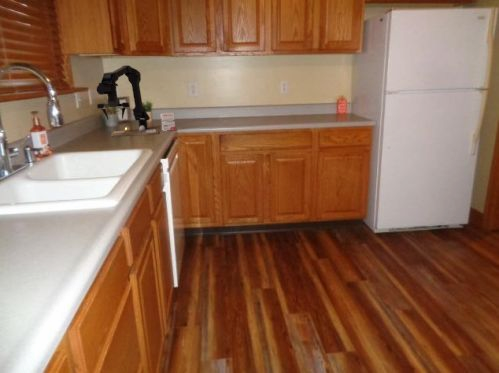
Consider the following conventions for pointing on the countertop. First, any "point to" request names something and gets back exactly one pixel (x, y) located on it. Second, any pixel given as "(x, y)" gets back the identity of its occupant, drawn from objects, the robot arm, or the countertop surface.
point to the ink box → (167, 121)
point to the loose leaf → (124, 130)
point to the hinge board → (136, 132)
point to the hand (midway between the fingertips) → (115, 119)
